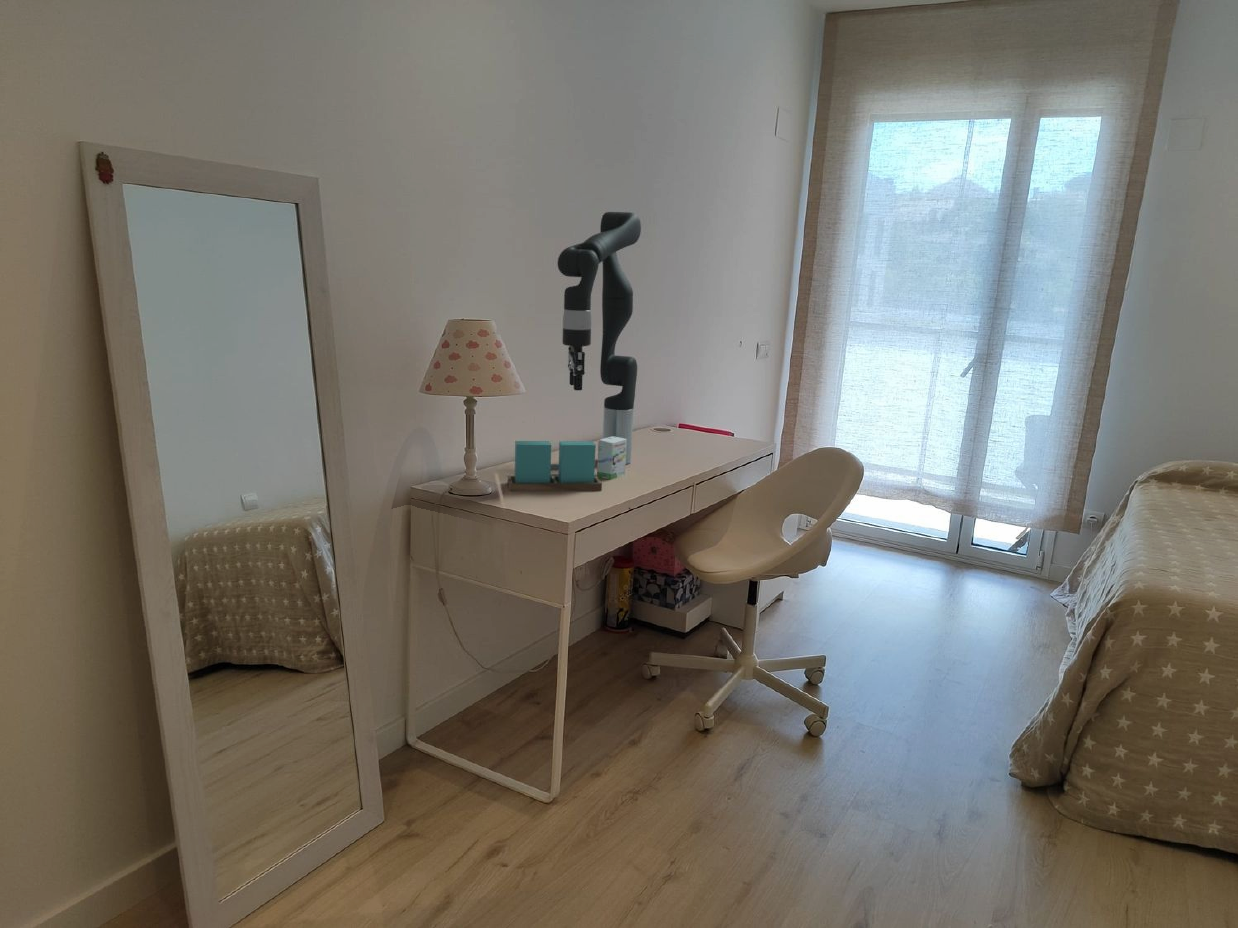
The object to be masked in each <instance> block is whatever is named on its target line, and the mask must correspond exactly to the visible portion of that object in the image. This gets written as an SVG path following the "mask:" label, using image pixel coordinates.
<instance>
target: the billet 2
mask: <svg viewBox="0 0 1238 928" xmlns="http://www.w3.org/2000/svg"><path fill="white" fill-rule="evenodd" d="M558 443H559V445H558V464H559V470H557V471H558V472H557V474H558V483H594V476H595V469H596V449H597V448H596V446H597V445H596V444H595V443H594V442H593V440H591V441H588V440H584V441H581V440H580V441H579V440H578V441H577V440H575V441H574V440H571V441H570V440H568V441H567V440H559V442H558Z"/></svg>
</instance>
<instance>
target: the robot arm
mask: <svg viewBox="0 0 1238 928" xmlns="http://www.w3.org/2000/svg"><path fill="white" fill-rule="evenodd" d="M599 226H600V228H599V229H600V230H599V231H600V232H598V233H595V234H594V235H591V236H590V237H588V238H587V239H586V240H584V241H583V242H580V243H577V244H574V245H571V246H568V247H566V248H564V249H563V250H562V251H561V252H560V254H559V256H558V257H557V268H558V271H559V272H560V274H562V275H563V276H565V277H570V278H580V281H579V283H578V284H577V285H572V286H568V287H566V288H565V289H564V295H563V299H564V300H563V314H562V316H563V317H562V344H563V346H567V347H568V348H567V349H568V351H567V356H568V357H567V368H568V371H569V385H570V386H573V390H574V391H582V390H583V377H584V375H585V373H586V372H585V362H586V361H585V360H586V359H585V356H586V353H585V351H583V347H588V346H590V345H591V344H592V342H591V340H592V337H591V336H592V315H591V313H592V311H591V309H592V308H591V307H592V303H591V302H592V293H593V287H594V284H595V281H596V276H597V274H598V270H599V265H600V264H601V263H602V289H601V290H602V291H601V293H602V297H601V298H602V299H601V300H602V301H601V307H602V308H601V310H602V311H601V313H602V315H601V317H602V341H601V353H600V365H599V367H600V368H599V369H600V370H599V373H600V374H599V375H600V379H601V382H602V383H603V385H607V386H616V387H622V388H621V391H620V392H619V393H617V394H615V395H610V396H607V397H604V402H603V422H602V424H603V425H602V427H603V428H602V439H604V438H608V437H612V436H615V437H620V438H624V439H627V446H626V465H628V464H631V462H632V449H633V448H632V446H633V445H632V444H633V442H632V441H633V426H634V408H635V406H634V405H635V397H636V389H637V388H636V386H637V377H638V363H637V359H636V358H635V357H633V356H629V355H628V356H626V355H615V350H616V344H617V341H618V339H619V337H620V335H621V333H622V331H623V330H624V329H625V327H626V326H627V325H628V322H629V321H630V319H631V317H632V315H633V310H634V305H633V303H634V298H633V297H634V291H633V287H632V285H631V283H630V281H629V279H628V277H627V275H626V274H625V273H624V270H623V268H622V267H621V264H620V262H619V260H618V259H619V258H618V254H617V252H618V251H620V250H622V249H624V248H626V247H630V246H633V245H635V244H636V243H637V242H638V241H639V239H640V236H641V232H642V223H641V219H640V217H639V216H638V214H636V213H633V212H628V211H606V212H605V213H603V215H602V217H601V220H600V225H599Z"/></svg>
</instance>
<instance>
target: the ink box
mask: <svg viewBox="0 0 1238 928" xmlns="http://www.w3.org/2000/svg"><path fill="white" fill-rule="evenodd" d="M626 446H627V439H624V438H620V437H615V436H612V437H608V438H604V439H603V438H601V439H599V440H598V441H597V466H596V476H597V477H598V479H602V480H603V479H604V480H611V481H612V480H615V479H616V478H617V479H618V478H619V477H623V476H625V475H626V465H627V464H626Z"/></svg>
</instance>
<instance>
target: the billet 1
mask: <svg viewBox="0 0 1238 928" xmlns="http://www.w3.org/2000/svg"><path fill="white" fill-rule="evenodd" d="M514 442H515V443H514V446H515V447H514V476H515V483H550V474H552V473H551V471H552V470H551V464H552V444H551V442H550V440H515V441H514Z"/></svg>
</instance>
